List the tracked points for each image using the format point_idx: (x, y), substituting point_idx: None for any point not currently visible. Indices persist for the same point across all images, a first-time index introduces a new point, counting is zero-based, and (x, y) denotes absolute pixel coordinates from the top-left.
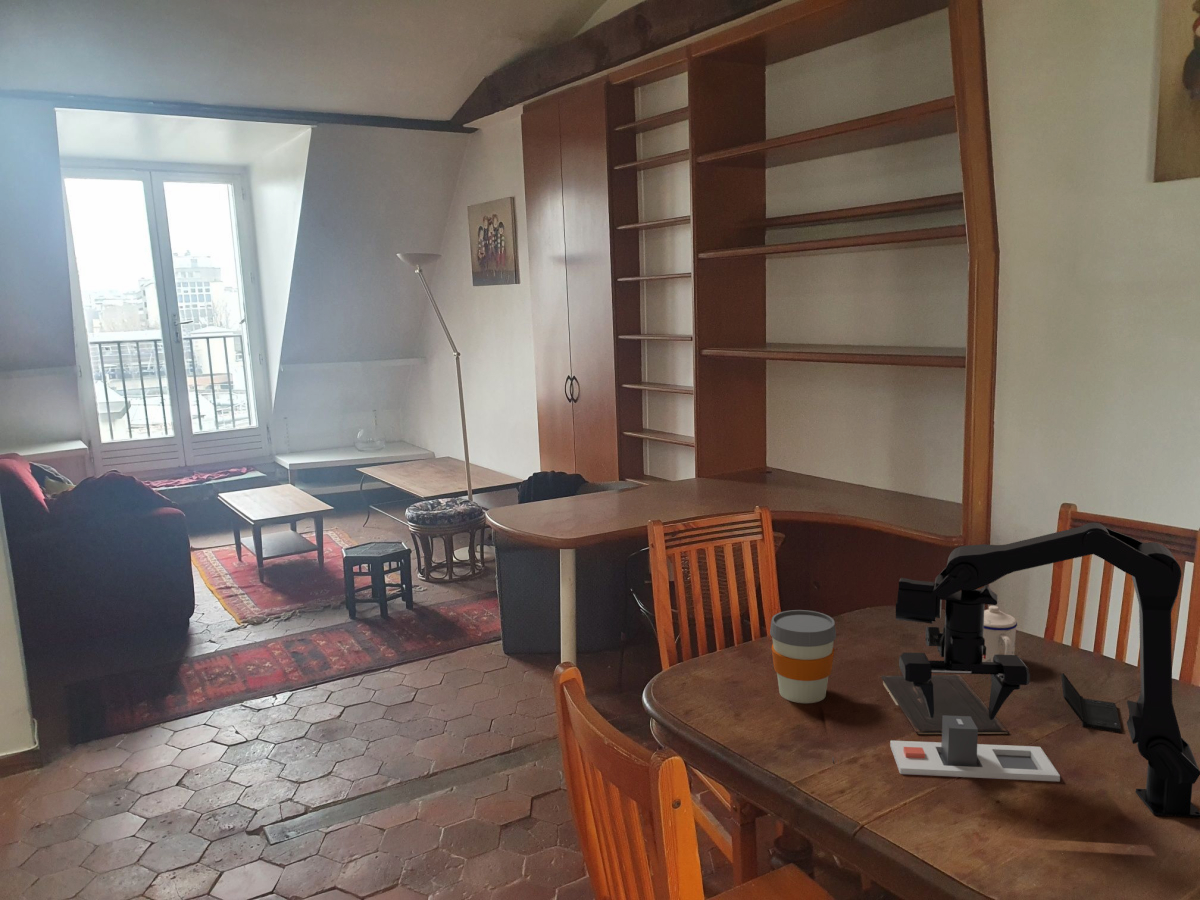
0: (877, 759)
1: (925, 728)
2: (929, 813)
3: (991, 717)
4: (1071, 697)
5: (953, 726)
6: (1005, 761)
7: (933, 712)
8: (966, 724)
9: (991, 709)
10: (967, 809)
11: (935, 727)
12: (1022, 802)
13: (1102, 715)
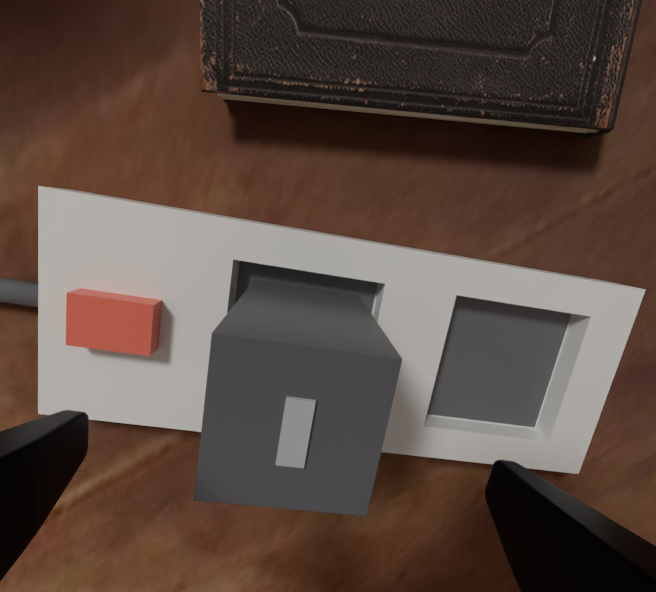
0: (9, 248)
1: (252, 65)
2: (119, 553)
3: (495, 524)
4: None
5: (230, 480)
6: (468, 342)
7: (42, 516)
8: (324, 459)
9: (534, 580)
10: (236, 537)
11: (305, 61)
12: (404, 509)
13: None
